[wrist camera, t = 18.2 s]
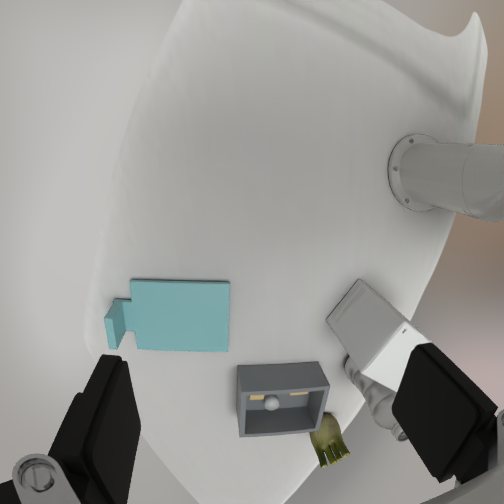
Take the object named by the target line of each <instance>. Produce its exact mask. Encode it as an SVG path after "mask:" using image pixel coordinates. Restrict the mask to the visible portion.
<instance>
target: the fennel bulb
mask: <svg viewBox="0 0 504 504" xmlns="http://www.w3.org/2000/svg"><path fill="white" fill-rule="evenodd" d="M309 433H310V438H311V442H312V444H313V446H314V449H315V451H316V453H317V456H318V459H319V462H320V466H321V468H325V467H327V462H326V458H325V454H326V456H327V458H328V460H329V462H330V464H331V465H334V464H336V463H337V460H338V461H340V460H341V459H342V456H343V457H347V456H348V455H349V454H350V452H349V451H348V449H347V447H346V446H345V444H344V442H343V439H342V435H341V430H340V427H339V424H338V422H337V420H336V418H335V417H334V416H332V415H327V414H323V417H322V420H321V424H320V428H319V431H312V432H309ZM331 448H332V450H331ZM332 451H333V452H334V454H335V456H336V458H335V456H334V454H333V452H332ZM339 451H340V452H341V454H342V456H341V454H340V452H339ZM324 452H325V454H324ZM336 459H337V460H336Z"/></svg>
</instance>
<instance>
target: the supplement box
mask: <svg viewBox="0 0 504 504" xmlns="http://www.w3.org/2000/svg"><path fill="white" fill-rule="evenodd" d="M326 321H327V323H328V324H329V325H330V327H331V329H332V330H333V331H334V333H335V334H336V336H337V337H338V339H339V341H340V342H341V344H342V345H343V347H344V348H345V350H346V351H347V353H348V354H349V356H350V357H351V359H352V360H353V362H354V363H355V365H356V366H357V368H358V370H359V371H360V373H362V374H363V375H365V376H367V377H369V378H371V379H373V380H375V381H376V382H378V383H380V384H382V385H384V386H386V387H388V388H390V389H392V390H394V391H396V392H397V391H398V388H399V385H400V383H401V380H402V377H403V374H404V371H405V368H406V366H407V363H408V359H409V356H410V353H411V351H412V350H413V349H414V348H415V346H416V345H418V344H424V343H433V342H432V341H431V340H430V339H429V338H428V337H426V336H425V335H424V334H423V333H422V332H421V331H420V330H419V329H418V328H417V327H416V326H414V325H413V324H412V323H411V322H410V321H409V320H408V319H407V318H406V317H405V316H403V315H402V314H401V313H400V312H399V311H398V310H397V309H396V308H394V307H393V306H392V305H391V304H390V303H389V302H388V301H386V300H385V299H384V298H383V297H382V296H380V295H379V294H378V293H377V292H375V291H374V290H373V289H372V288H370V287H369V286H368V285H367V284H365V283H364V282H363V281H362V280H360V279H358V281H357V282H356V283H355V285H354V286H353V287H352V288H351V290H350V291H349V292H348V293H347V295H346V296H345V297H344V298H343V300H342V301H341V302H340V303H339V305H338V306H337V307H336V308H335V309H334V311H333V312H332V313H331V314H330V315H329V317H328V318H327V319H326ZM433 344H434V343H433ZM434 345H435V344H434ZM435 346H436V345H435Z"/></svg>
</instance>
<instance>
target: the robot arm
mask: <svg viewBox="0 0 504 504" xmlns="http://www.w3.org/2000/svg"><path fill="white" fill-rule="evenodd" d="M393 167H394V169H393ZM388 174H389V181H390V186H391V188H392V191H393V193H394V195H395V197H396V198H397V199H398V201H399V202H400V203H401V204H402V205H404V206H405V207H407V208H409V209H411V210H414V211H420V212H423V211H428V210H430V209H433V208H434V207H440V208H443V209H447V210H451V211H454V212H458V213H461V214H464V215H468V216H471V217H474V218H477V219H480V220H484V221H487V222H499V221H503V220H504V145H492V144H455V143H438V142H437V141H436V140H434V139H433V138H431V137H429V136H427V135H422V134H413V135H409V136H407V137H405V138H403V139H402V140H401V141H400V142H399V143H398V144H397V145H396V146H395V148H394V150H393V152H392V154H391V157H390V161H389V168H388ZM497 408H498V407H497V406H496V404H494V403H493V402H492V401H491V399H490V398H489V397H488V396H486V394H485V393H484V392H483V391H482V390H481V389H480V388H479V387H478V386H477V385H476V384H475V383H474V382H473V381H472V380H471V379H470V378H469V377H468V376H467V375H466V374H465V373H463V372H462V371H461V370H460V369H459V368H458V367H457V366H456V365H455V364H454V363H453V362H452V361H451V360H450V359H449V358H448V357H447V356H446V355H445V354H444V353H443V352H442V351H441V350H439V349H438V348H437V347H436V346H435V345H434V344H433V343H424V344H418V345H416V346H415V348H414V349H413V350H412V351H411V353H410V356H409V359H408V363H407V366H406V368H405V371H404V374H403V377H402V380H401V383H400V385H399V388H398V391H397V394H396V396H395V399H394V401H393V404H392V414H393V416H394V417H395V419H396V420H397V422H398V423H399V425H400V426H401V428H402V430H403V431H404V433H405V434H406V436H407V437H408V439H409V440H410V442H411V444H412V445H413V447H414V448H415V450H416V451H417V453H418V455H419V456H420V458H421V459H422V461H423V462H424V464H425V466H426V467H427V469H428V470H429V472H430V473H431V475H432V476H433V477H436V478H437V480H438V481H439V483H441V482H444V481H446V480H448V479H450V478H452V476H453V475H455V476H456V481H455V487H454V489H452V490H450V491H448V492H446V493H444V494H442V495H440V496H437V497H435V498H433V499H430V500H428V501H426V502H423V503H421V504H504V410H502V411H501V412H499V414H498V416H497V417H496V416H495V415H494V413H495V412H496V410H497ZM140 431H141V422H140V418H139V414H138V410H137V405H136V401H135V397H134V392H133V387H132V383H131V378H130V373H129V368H128V363H127V361H122V358H121V357H120V356H115V355H104V354H103V355H102V356H101V357H100V359H99V361H98V363H97V365H96V367H95V369H94V371H93V373H92V375H91V377H90V379H89V381H88V383H87V385H86V387H85V389H84V392H83V393H80V392H79V393H77V394H76V396H75V397H74V399H73V401H72V403H71V405H70V407H69V409H68V412H67V413H66V415H65V418H64V420H63V422H62V424H61V426H60V428H59V431H58V433H57V435H56V437H55V439H54V442H53V444H52V446H51V449H50V451H49V453H48V456H46V455H44V454H31V455H27V456H25V457H23V458H21V459H20V460H19V461H18V462H17V463H16V465H15V466H14V468H13V473H12V477H13V479H12V480H9V481H7V482H4V483H1V484H0V504H127V500H128V494H129V488H130V483H131V477H132V472H133V466H134V461H135V456H136V451H137V445H138V441H139V436H140Z"/></svg>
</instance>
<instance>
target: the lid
mask: <svg viewBox="0 0 504 504" xmlns="http://www.w3.org/2000/svg"><path fill="white" fill-rule="evenodd" d="M229 288H230V283H229V282H196V281H157V280H130V291H131V300H121V299H114V301H113V305H112V307H111V308H110V310H109V311H108V313H107V314H106V316H105V317H104V321H105V327H106V333H107V339H108V344H109V349H116V350H117V349H118V347H119V344H120V342H121V340H122V338H123V336H124V334H125V332H126V331H135V336H136V343H137V349H147V350H166V351H196V352H228V327H229Z"/></svg>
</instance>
